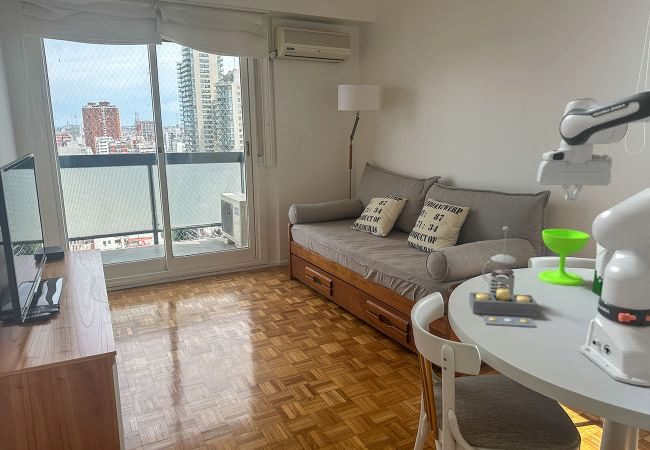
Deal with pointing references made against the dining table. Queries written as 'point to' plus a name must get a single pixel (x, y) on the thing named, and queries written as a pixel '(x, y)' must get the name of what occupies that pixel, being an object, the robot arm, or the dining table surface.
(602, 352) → the robot arm
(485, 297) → the left button
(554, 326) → the dining table surface
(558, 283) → the wineglass
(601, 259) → the milk carton
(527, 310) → the button board
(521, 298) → the right button
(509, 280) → the french press
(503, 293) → the middle button
